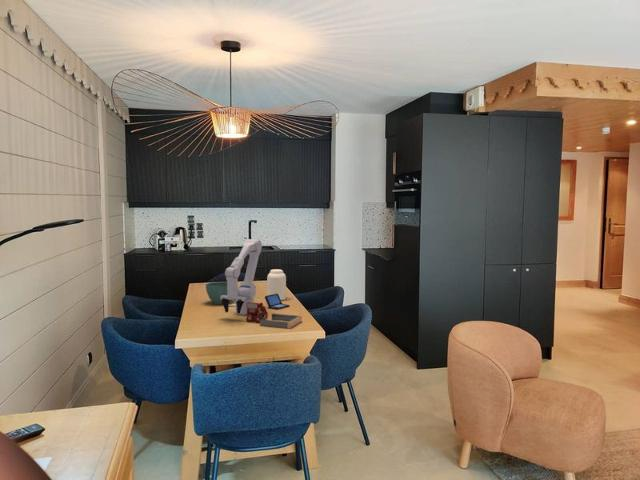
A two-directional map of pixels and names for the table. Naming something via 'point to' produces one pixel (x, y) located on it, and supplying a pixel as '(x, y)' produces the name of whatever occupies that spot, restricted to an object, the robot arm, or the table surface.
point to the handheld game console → (275, 302)
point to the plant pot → (216, 291)
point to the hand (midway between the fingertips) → (232, 312)
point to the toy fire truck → (256, 312)
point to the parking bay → (292, 318)
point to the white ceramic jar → (276, 283)
